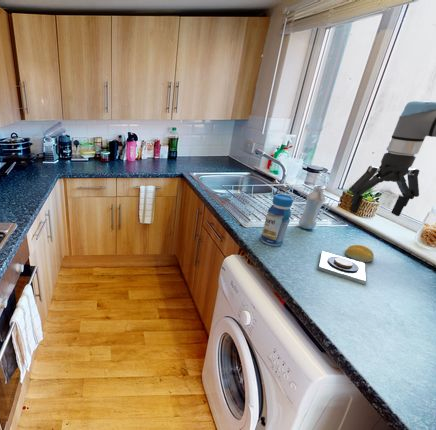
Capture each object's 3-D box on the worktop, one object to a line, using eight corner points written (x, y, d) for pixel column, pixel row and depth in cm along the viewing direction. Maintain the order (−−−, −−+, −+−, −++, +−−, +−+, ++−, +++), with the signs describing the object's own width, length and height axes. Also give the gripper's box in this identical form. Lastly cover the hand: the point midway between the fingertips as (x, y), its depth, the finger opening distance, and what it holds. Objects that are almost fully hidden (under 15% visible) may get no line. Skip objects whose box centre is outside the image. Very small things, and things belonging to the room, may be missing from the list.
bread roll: (341, 255, 110) (345, 247, 108) (349, 248, 115) (352, 239, 114) (368, 265, 104) (372, 256, 103) (375, 257, 109) (379, 248, 108)
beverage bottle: (285, 247, 115) (300, 201, 107) (263, 245, 116) (276, 199, 108) (278, 237, 123) (291, 193, 114) (257, 235, 124) (268, 192, 115)
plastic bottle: (300, 223, 136) (313, 183, 127) (316, 228, 131) (331, 187, 122) (294, 227, 132) (308, 186, 123) (311, 232, 127) (326, 190, 119)
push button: (363, 266, 104) (366, 260, 103) (364, 284, 94) (367, 277, 93) (320, 254, 111) (323, 247, 110) (317, 269, 101) (320, 263, 100)
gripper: (433, 152, 94) (404, 211, 103) (351, 148, 96) (330, 206, 105) (455, 157, 87) (422, 220, 96) (366, 153, 90) (341, 214, 99)
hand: (373, 213), depth 101 cm, fingers open, 13 cm apart
